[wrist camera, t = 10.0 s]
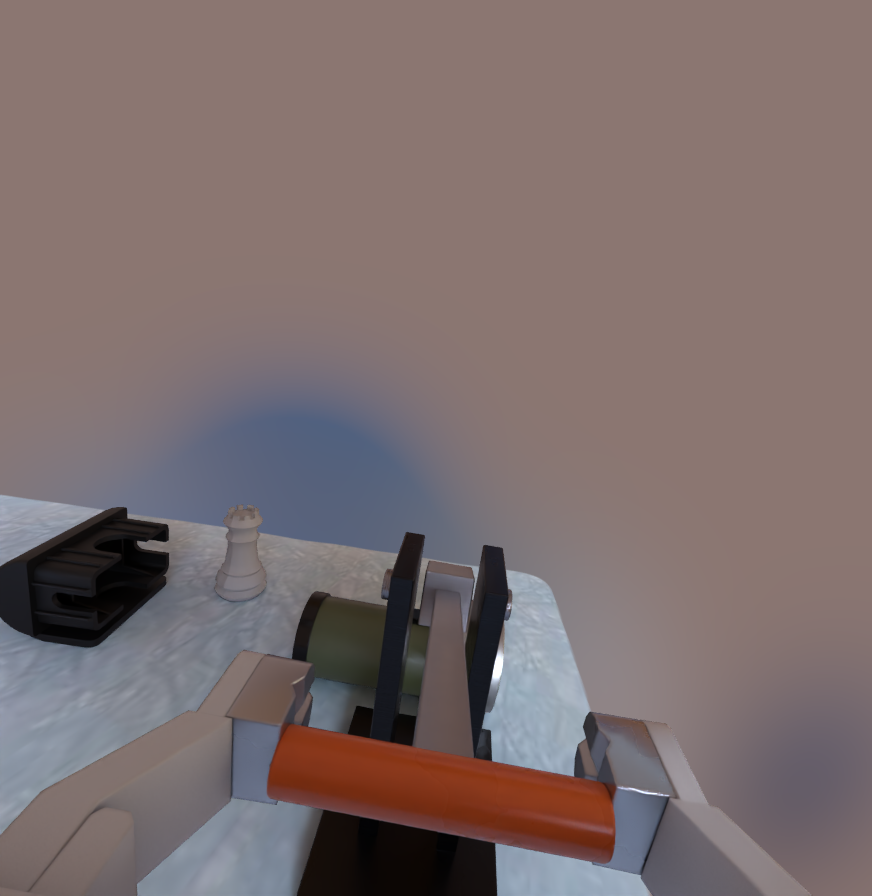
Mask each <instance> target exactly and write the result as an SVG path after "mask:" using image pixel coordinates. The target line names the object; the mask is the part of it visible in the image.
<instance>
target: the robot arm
mask: <svg viewBox="0 0 872 896" xmlns="http://www.w3.org/2000/svg"><path fill="white" fill-rule="evenodd" d="M314 673H315V665H314V664H313V663H309V662H304V661H299V660H294V659H289V658H285V657H280V656H275V655H270V654H267V655H266V654H262V653H257V652H252V651H247V650H243V651H242V652H240V653H239V654H237V656H236V657H235V658H234V660H233V661H232V663H231V664H230V665H229V667H228V668H227V670H226V671H225V672H224V674H223V675H222V676H221V678H220V679H219V681H218V682H217V683H216V685H215V686H214V687H213V689H212V690H211V692H210V693H209V694H208V696H207V697H206V699H205V700H204V701H203V703H202V704H201V705H200V707H199V708H198V710H197V711H196V712H195V711H189V710H188V711H187V712H185V713H183V714H181V715H179V716H178V717H176V718H174V719H172V720H170V721H168V722H167V723H165V724H163V725H161V726H159V727H157V728H156V729H154V730H152V731H150V732H148V733H147V734H145V735H143V736H141V737H139V738H137V739H136V740H134V741H132V742H130V743H128V744H127V745H125V746H123V747H121V748H119V749H117V750H116V751H114V752H112V753H110V754H108V755H106V756H105V757H103V758H101V759H99V760H97V761H96V762H94V763H92V764H90V765H88V766H86V767H85V768H83V769H81V770H79V771H77V772H75V773H74V774H72V775H70V776H68V777H66V778H65V779H63V780H61V781H59V782H57V783H55V784H54V785H52V786H50V787H48V788H46V789H45V790H43V791H41V792H40V793H39V794H38V795H37V796H36V797H35V799H34V800H33V801H32V802H31V803H30V804H29V805H28V806H27V807H26V808H25V809H24V810H23V811H22V812H21V814H20V815H19V816H18V817H17V818H16V819H15V820H14V821H13V822H12V823H11V824H10V825H9V826H8V827H7V829H6V830H5V831H4V832H3V833H2V834H1V835H0V896H137V884H138V883H139V882H140V881H141V880H142V879H143V878H144V877H145V876H147V875H148V874H149V873H150V872H151V871H152V870H153V869H154V868H156V867H157V866H158V865H159V864H160V863H161V862H162V861H163V860H165V859H166V858H167V857H168V856H169V855H170V854H171V853H172V852H174V851H175V850H176V849H177V848H178V847H179V846H180V845H181V844H183V843H184V842H185V841H186V840H187V839H188V838H189V837H190V836H192V835H193V834H194V833H195V832H196V831H197V830H198V829H199V828H201V827H202V826H203V825H204V824H205V823H206V822H207V821H208V820H210V819H211V818H212V817H213V816H214V815H215V814H216V813H217V812H219V811H220V810H221V809H222V808H223V807H224V806H225V805H226V804H228V803H229V802H230V799H231V798H236V799H243V800H249V801H256V802H262V803H269V804H275V805H277V802H278V800H273V799H270V798H269V797H268V796H267V779H268V773H269V769H270V765H271V761H272V758H273V755H274V752H275V749H276V746H277V744H278V742H279V741H280V740H281V738H282V736H283V734H284V732H285V730H286V728H287V727H288V726H289V725H290V724H296V725H301V726H307V727H308V723H309V720H310V715H311V709H312V701H313V697H312V695H311V694H310V692H309V690H310V688H311V685H312V683H313V681H314ZM583 728H584V732H585V736H586V739H585V740H583V741H582V742H581V743H579V744H578V747H577V751H576V756H575V766H574V777H578V778H583V779H589V780H594V781H599V782H601V783H603V784H604V785H605V786H606V788H607V789H608V791H609V794H610V797H611V800H612V804H613V809H614V815H615V827H616V836H615V847H614V853H613V856H612V859H611V860H610V862H608V863H606V864H600V863H595V862H592V864H593V865H597V866H602V867H606V868H611V869H615V870H620V871H624V872H629V873H633V874H638V875H641V879H642V881H643V882H644V884H645V885H646V887H647V888H648V890H649V891H650V893H651V894H652V895H653V896H812V895H811V894H810V893H809V892H808V891H807V890H806V889H805V888H804V887H802V886H801V885H800V884H799V883H798V882H797V881H796V880H795V879H794V878H793V877H792V876H791V875H790V874H789V873H787V871H785V870H784V869H783V868H782V867H781V866H780V865H779V864H778V863H777V862H776V861H775V860H774V859H773V858H772V857H771V856H769V855H768V854H767V853H766V852H765V851H764V850H763V849H762V848H761V847H760V846H759V845H758V844H757V843H756V842H755V841H753V840H752V839H751V838H750V837H749V836H748V835H747V834H746V833H745V832H744V831H743V830H742V829H741V828H740V827H738V826H737V825H736V824H735V823H734V822H733V821H732V820H731V819H730V818H729V817H728V816H727V815H726V814H725V813H724V812H722V811H721V810H720V809H719V808H718V807H717V806H712V805H709V804H708V802H707V800H706V798H705V796H704V794H703V792H702V790H701V788H700V786H699V784H698V782H697V780H696V778H695V776H694V774H693V772H692V770H691V768H690V766H689V764H688V762H687V760H686V758H685V756H684V754H683V752H682V750H681V748H680V746H679V744H678V742H677V740H676V738H675V736H674V734H673V732H672V730H671V728H670V727H669V726H668V725H667V724H665V723H658V722H652V721H646V720H637V719H631V718H625V717H619V716H613V715H607V714H601V713H594V712H589V713H588V715H587V716H586V719H585V722H584V725H583Z"/></svg>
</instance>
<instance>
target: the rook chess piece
mask: <svg viewBox="0 0 872 896" xmlns="http://www.w3.org/2000/svg"><path fill="white" fill-rule="evenodd" d="M253 508H254V506H252V505H248V506H247V509H243V505H237V510H235V508H234V507H231V508H229V511H228V515H227V516H226V517H225V518H224V520H223V522H224V524H225V525H226V526H227V528H228V529H229V532H228V533H227V534H226V539H227V540H228V548H227V554H226V559H225V562H224V563H223V564H222V566H221V569H220V570H219V571H218V573H217V576H216V579H215V580H216V585H215V587H214V588H215V591H216V593H217V594H218V595H219V596H220V597H222V598H223V599H225V600H229V601H246V600H250V599H252V598H254V597H256V596H258V595H259V594H260V593H261V592H262V591H263V590H264V588H265V587H266V580H265V577H266V572H265V569H264V568H263V566H262V563H261V562H260V560H259V558H258V552H257V539H258V538H259V535H260V534H259V533H258V532H257V528H258V526H259V525H260V524H261V523H262V521H263V519H262V517H261V516H260V515H259V509H258V508H254V509H253Z"/></svg>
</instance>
